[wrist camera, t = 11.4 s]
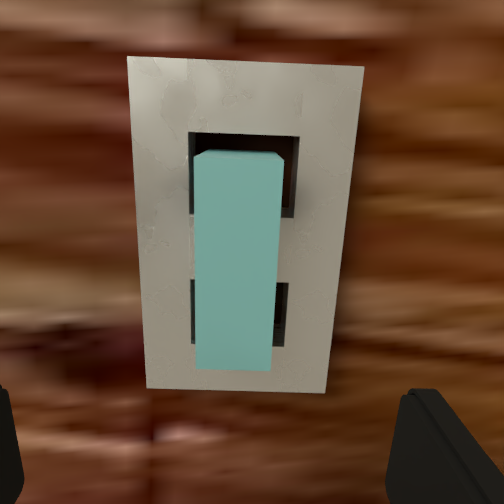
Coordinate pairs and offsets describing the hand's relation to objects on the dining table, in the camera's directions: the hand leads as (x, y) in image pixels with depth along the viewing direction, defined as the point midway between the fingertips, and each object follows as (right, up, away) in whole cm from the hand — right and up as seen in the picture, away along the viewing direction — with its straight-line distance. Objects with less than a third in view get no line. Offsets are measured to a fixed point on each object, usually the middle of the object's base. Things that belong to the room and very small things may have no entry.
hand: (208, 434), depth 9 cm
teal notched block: (0, +5, +16) cm, 17 cm away
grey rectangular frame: (0, +5, +16) cm, 17 cm away
